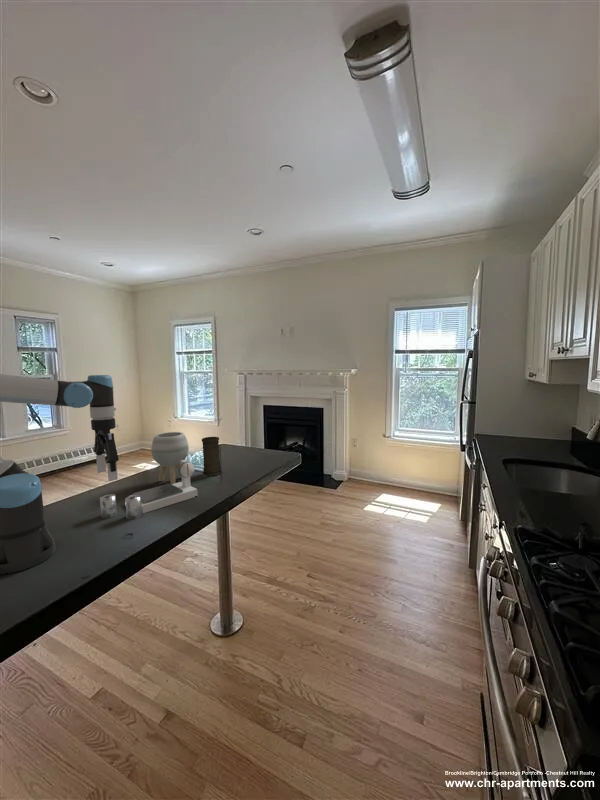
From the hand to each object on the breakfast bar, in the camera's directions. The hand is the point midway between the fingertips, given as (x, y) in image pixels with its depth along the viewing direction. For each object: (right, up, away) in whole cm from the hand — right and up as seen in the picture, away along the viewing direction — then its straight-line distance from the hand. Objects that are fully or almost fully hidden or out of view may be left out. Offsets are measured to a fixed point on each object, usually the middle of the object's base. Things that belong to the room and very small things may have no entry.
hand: (107, 476), depth 123 cm
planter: (+10, -11, +36) cm, 39 cm away
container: (+26, -9, +46) cm, 54 cm away
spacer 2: (+10, -15, 0) cm, 18 cm away
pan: (+13, -10, +13) cm, 21 cm away
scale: (+15, -13, +14) cm, 24 cm away
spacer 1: (0, -15, +1) cm, 15 cm away
